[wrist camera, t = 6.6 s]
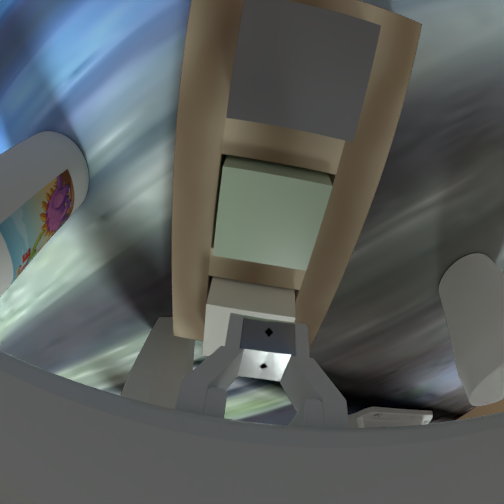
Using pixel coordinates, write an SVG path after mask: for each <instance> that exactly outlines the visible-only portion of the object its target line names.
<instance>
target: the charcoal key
mask: <svg viewBox="0 0 504 504" xmlns="http://www.w3.org/2000/svg"><path fill="white" fill-rule="evenodd" d="M380 29H381V25H378V24H375V23H372V22H369V21H366V20H363V19H360V18H356V17H353V16H350V15H346V14H343V13H339V12H335V11H331V10H327V9H323V8H319V7H315V6H310V5H305V4H300V3H295V2H290V1H284V0H245V1H244V7H243V12H242V18H241V24H240V30H239V36H238V42H237V48H236V54H235V60H234V67H233V73H232V80H231V86H230V93H229V100H228V107H227V115H226V118H231V119H238V120H244V121H251V122H257V123H263V124H269V125H275V126H280V127H285V128H291V129H296V130H301V131H305V132H310V133H315V134H319V135H324V136H328V137H332V138H336V139H341V140H345V141H349V142H353V140H354V137H355V133H356V129H357V126H358V122H359V118H360V114H361V110H362V106H363V103H364V99H365V95H366V91H367V87H368V82H369V78H370V74H371V70H372V65H373V61H374V57H375V52H376V48H377V43H378V38H379V34H380Z"/></svg>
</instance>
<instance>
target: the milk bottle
mask: <svg viewBox="0 0 504 504" xmlns="http://www.w3.org/2000/svg"><path fill="white" fill-rule="evenodd" d="M88 186H89V173H88V167H87V164H86V160H85V158H84V156H83V154H82V152H81V151H80V149H79V148H78V146H77V145H76V144H75V143H74V142H73V141H72V140H71V139H70V138H68V137H67V136H65V135H63V134H60V133H58V132H52V131H44V132H40V133H38V134H35V135H33V136H31V137H29V138H28V139H26V140H24V141H22V142H20V143H19V144H17V145H15V146H14V147H12V148H10V149H9V150H7V151H5V152H4V153H2V154H0V296H1V295H2V294H3V293H4V292H5V291H6V290H7V289H8V287H9V286H10V285H11V284H12V283H13V282H14V280H15V279H16V278H17V277H18V276H19V275H20V273H21V272H22V271H23V270H24V268H25V267H26V266H27V265H28V264H29V262H30V261H31V260H32V259H33V258H34V257H35V255H36V254H37V253H38V252H39V251H40V250H41V248H42V247H43V246H44V245H45V244H46V243H47V242H48V240H49V239H50V238H51V237H52V236H53V235H54V234H55V233H56V231H57V230H58V229H59V228H60V227H61V226H62V225H63V224H64V223H65V222H66V221H67V220H68V218H69V217H70V216H71V215H72V214H73V213H74V212H75V211H76V210H77V209H78V208H79V206H80V205H81V204H82V203H83V201H84V199H85V197H86V194H87V191H88Z"/></svg>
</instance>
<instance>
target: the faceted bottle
mask: <svg viewBox="0 0 504 504" xmlns="http://www.w3.org/2000/svg"><path fill="white" fill-rule="evenodd" d="M194 346H195V340H194V339H189V338H183V337H178V336H174V332H173V317H159V318H158V319H157V321H156V323H155V325H154V326H153V328H152V330H151V332H150V334H149V336H148V338H147V340H146V342H145V343H144V345H143V347H142V349H141V351H140V353H139V355H138V357H137V359H136V361H135V363H134V365H133V367H132V369H131V371H130V373H129V375H128V377H127V379H126V382H125V385H124V388H123V391H122V393H121V396H123V397H126V398H130V399H134V400H137V401H141V402H145V403H149V404H153V405H157V406H162V407H166V408H171V409H175V406H176V402H177V398H178V394H179V390H180V386H181V382H182V380H183V379H184V378H185V377H186V376H187V375H188V374H190V373H191V372H192V371H193V358H194Z"/></svg>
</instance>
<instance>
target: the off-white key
mask: <svg viewBox="0 0 504 504" xmlns="http://www.w3.org/2000/svg"><path fill="white" fill-rule="evenodd" d="M230 313H235V314H240V315H243V316H244V315H247V316H252V317H258V318H263V319H272V320H279V321H287V322H293V323H294V321H295V318H296V313H295V290H294V289H290V288H284V287H277V286H271V285H264V284H258V283H252V282H246V281H239V280H233V279H227V278H221V277H215V276H213V278H212V282H211V286H210V290H209V294H208V299H207V303H206V313H205V327H204V341H203V355H206V356H210V355H211V354H212V353H213V352H214V351H216V350H217V349H218V348H219V347H220V346H225V341H226V335H227V329H228V323H229V317H230Z"/></svg>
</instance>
